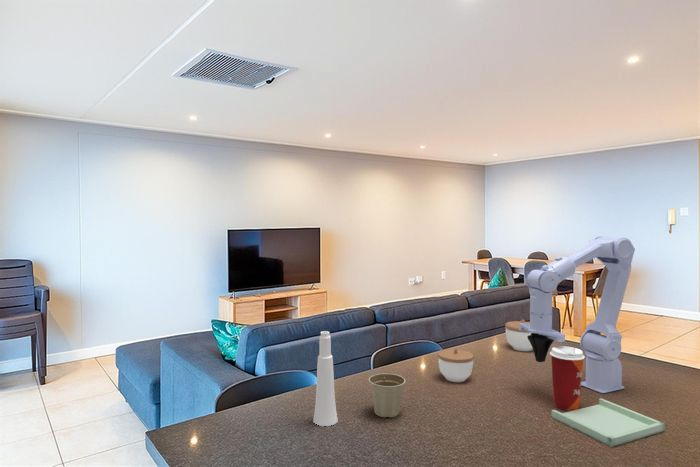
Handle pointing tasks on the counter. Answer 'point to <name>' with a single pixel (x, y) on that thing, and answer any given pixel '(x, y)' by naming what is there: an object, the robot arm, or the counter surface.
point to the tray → (610, 423)
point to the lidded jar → (455, 364)
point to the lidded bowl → (518, 336)
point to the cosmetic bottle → (325, 384)
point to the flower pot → (386, 393)
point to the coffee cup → (567, 377)
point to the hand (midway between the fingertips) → (540, 361)
